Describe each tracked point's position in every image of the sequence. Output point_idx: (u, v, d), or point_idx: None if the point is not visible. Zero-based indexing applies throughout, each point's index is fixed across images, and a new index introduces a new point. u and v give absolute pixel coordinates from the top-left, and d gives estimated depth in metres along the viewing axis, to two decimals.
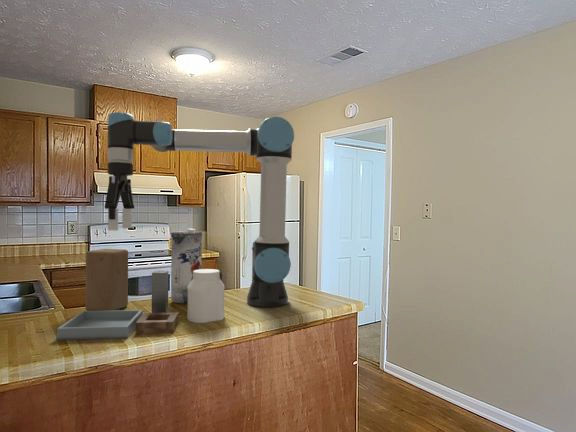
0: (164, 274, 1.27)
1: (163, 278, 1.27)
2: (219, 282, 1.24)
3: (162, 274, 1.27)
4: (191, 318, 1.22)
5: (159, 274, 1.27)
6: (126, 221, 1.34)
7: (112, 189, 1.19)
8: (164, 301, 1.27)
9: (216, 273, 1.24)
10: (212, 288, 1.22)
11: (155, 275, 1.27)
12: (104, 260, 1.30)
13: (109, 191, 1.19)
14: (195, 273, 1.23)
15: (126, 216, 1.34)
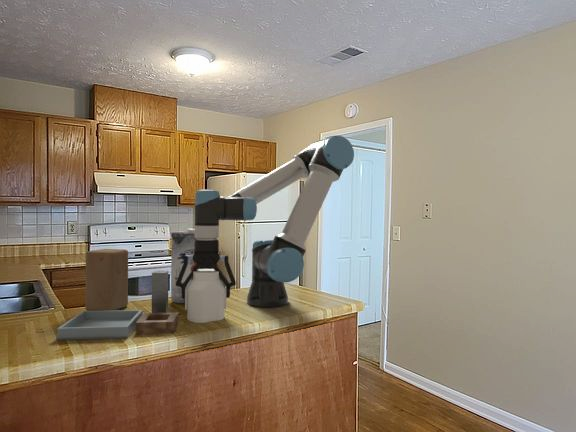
0: (164, 274, 1.27)
1: (163, 278, 1.27)
2: (219, 282, 1.24)
3: (162, 274, 1.27)
4: (191, 318, 1.22)
5: (159, 274, 1.27)
6: None
7: (181, 269, 1.25)
8: (164, 301, 1.27)
9: (216, 273, 1.24)
10: (212, 288, 1.22)
11: (155, 275, 1.27)
12: (104, 260, 1.30)
13: None
14: (195, 273, 1.23)
15: None
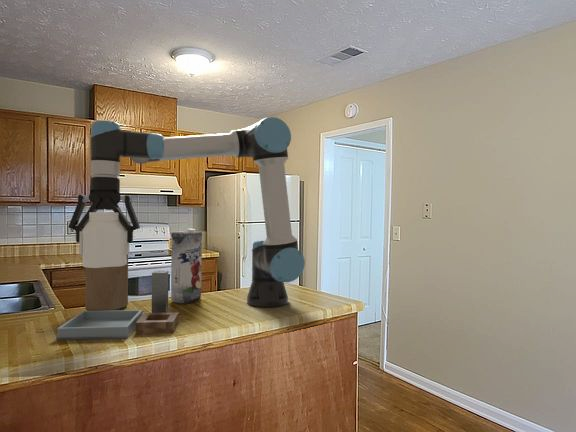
0: (164, 274, 1.27)
1: (163, 278, 1.27)
2: (118, 224, 1.12)
3: (162, 274, 1.27)
4: (84, 263, 1.09)
5: (159, 274, 1.27)
6: None
7: None
8: (164, 301, 1.27)
9: (114, 214, 1.11)
10: (108, 230, 1.10)
11: (155, 275, 1.27)
12: None
13: None
14: (90, 213, 1.10)
15: None
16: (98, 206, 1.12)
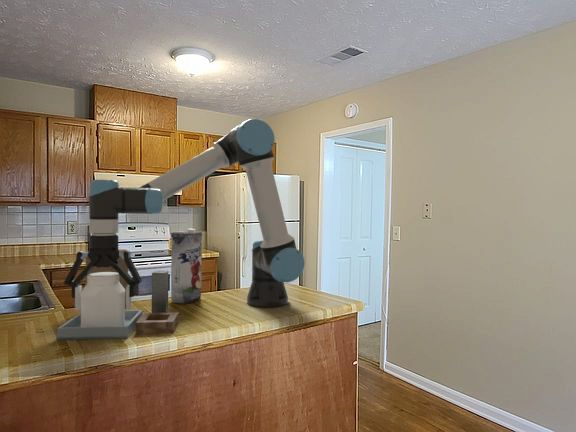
0: (164, 274, 1.27)
1: (163, 278, 1.27)
2: (116, 287, 1.12)
3: (162, 274, 1.27)
4: None
5: (159, 274, 1.27)
6: None
7: None
8: (164, 301, 1.27)
9: (113, 277, 1.12)
10: (107, 293, 1.10)
11: (155, 275, 1.27)
12: None
13: None
14: (88, 277, 1.10)
15: None
16: (96, 264, 1.12)
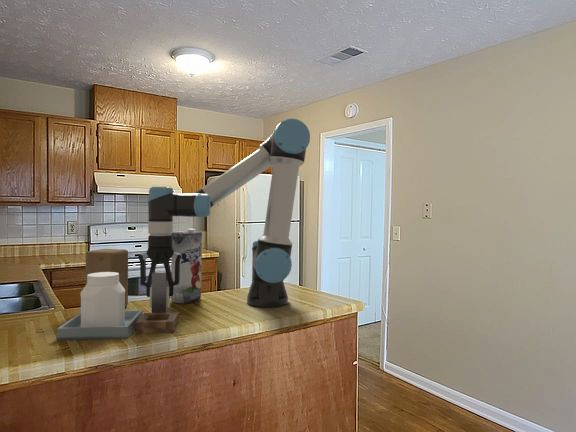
0: (164, 274, 1.27)
1: (163, 278, 1.27)
2: (116, 287, 1.12)
3: (162, 274, 1.27)
4: None
5: (159, 274, 1.27)
6: None
7: None
8: (164, 301, 1.27)
9: (113, 277, 1.12)
10: (107, 293, 1.10)
11: (155, 275, 1.27)
12: (104, 260, 1.30)
13: None
14: (88, 277, 1.10)
15: None
16: (157, 260, 1.28)
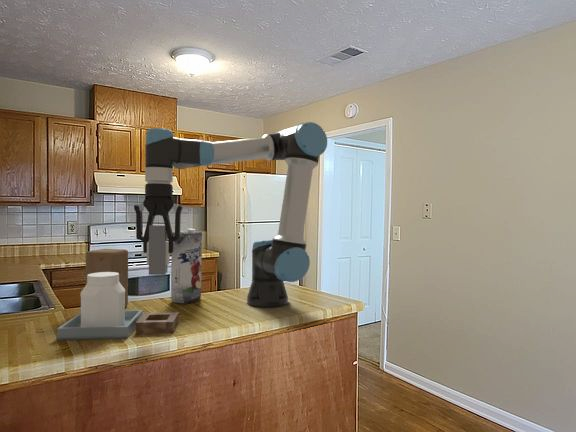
0: (163, 227, 1.13)
1: (162, 231, 1.13)
2: (116, 287, 1.12)
3: (161, 227, 1.13)
4: None
5: (157, 227, 1.13)
6: None
7: None
8: (163, 257, 1.13)
9: (113, 277, 1.12)
10: (107, 293, 1.10)
11: (153, 228, 1.13)
12: (104, 260, 1.30)
13: None
14: (88, 277, 1.10)
15: None
16: (155, 212, 1.14)
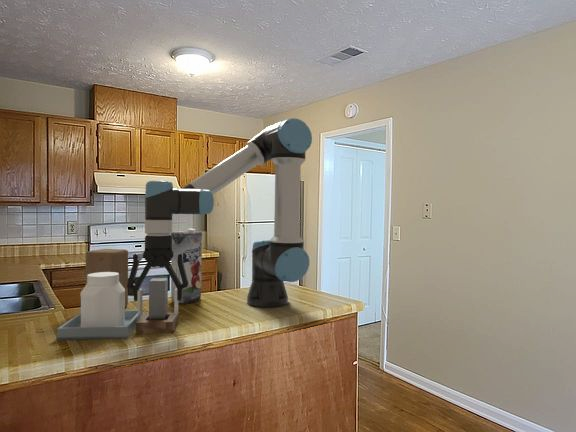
0: (163, 282, 1.13)
1: (162, 287, 1.13)
2: (116, 287, 1.12)
3: (161, 282, 1.13)
4: None
5: (157, 282, 1.13)
6: None
7: None
8: (163, 312, 1.14)
9: (113, 277, 1.12)
10: (107, 293, 1.10)
11: (153, 283, 1.13)
12: (104, 260, 1.30)
13: None
14: (88, 277, 1.10)
15: None
16: (153, 264, 1.14)
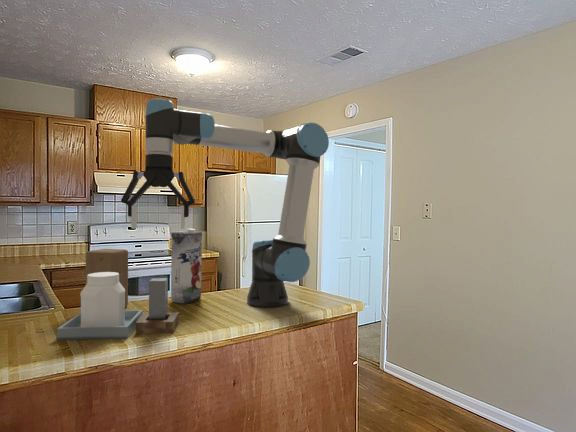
0: (163, 282, 1.13)
1: (162, 287, 1.13)
2: (116, 287, 1.12)
3: (160, 282, 1.13)
4: None
5: (157, 282, 1.13)
6: None
7: None
8: (163, 312, 1.14)
9: (113, 277, 1.12)
10: (107, 293, 1.10)
11: (153, 283, 1.13)
12: (104, 260, 1.30)
13: None
14: (88, 277, 1.10)
15: None
16: (152, 183, 1.13)
